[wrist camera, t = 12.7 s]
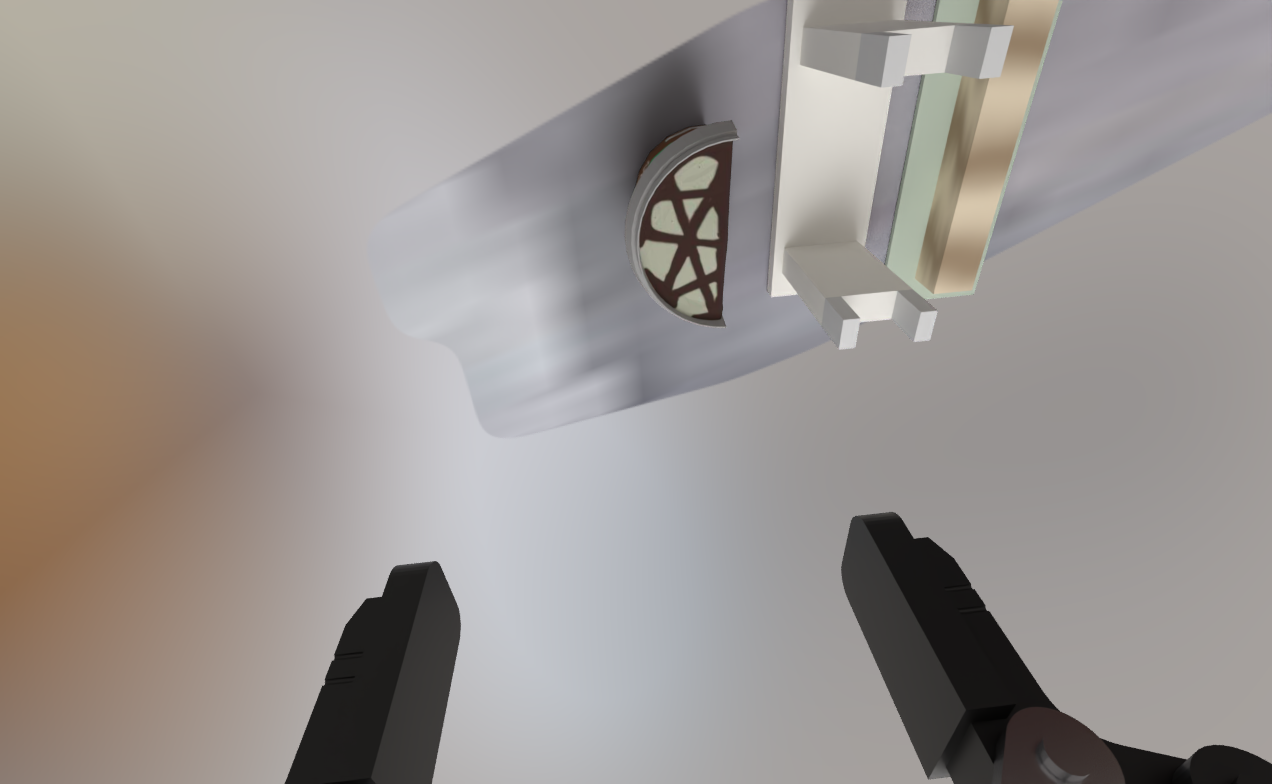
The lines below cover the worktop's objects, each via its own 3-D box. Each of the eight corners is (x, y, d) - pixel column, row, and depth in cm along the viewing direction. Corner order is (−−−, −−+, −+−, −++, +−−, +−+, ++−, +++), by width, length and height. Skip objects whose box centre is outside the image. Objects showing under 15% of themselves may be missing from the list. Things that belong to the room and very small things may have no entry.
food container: (613, 104, 37) (622, 132, 29) (705, 100, 37) (740, 126, 29) (621, 278, 44) (630, 341, 36) (699, 274, 44) (725, 335, 36)
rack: (788, -12, 34) (882, -19, 23) (901, -21, 34) (1045, -33, 24) (767, 290, 45) (823, 378, 35) (851, 282, 46) (933, 366, 35)
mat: (949, -67, 33) (953, -67, 33) (1081, -78, 33) (1086, -78, 33) (877, 301, 47) (879, 303, 47) (970, 292, 47) (973, 294, 47)
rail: (986, -29, 34) (1017, -31, 32) (1034, -33, 34) (1069, -36, 32) (914, 278, 45) (933, 294, 43) (950, 274, 46) (971, 290, 43)
